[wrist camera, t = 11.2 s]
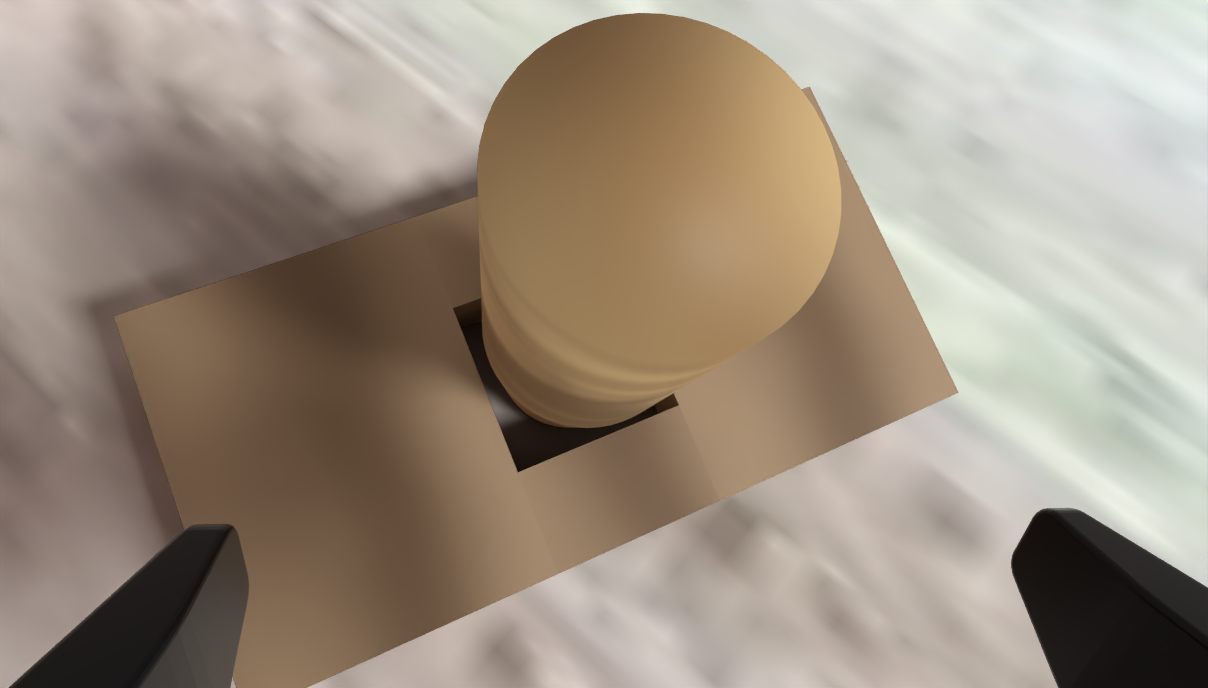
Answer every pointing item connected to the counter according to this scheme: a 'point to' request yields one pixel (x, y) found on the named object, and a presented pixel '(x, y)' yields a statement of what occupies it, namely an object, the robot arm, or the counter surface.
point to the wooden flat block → (468, 431)
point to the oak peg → (645, 214)
